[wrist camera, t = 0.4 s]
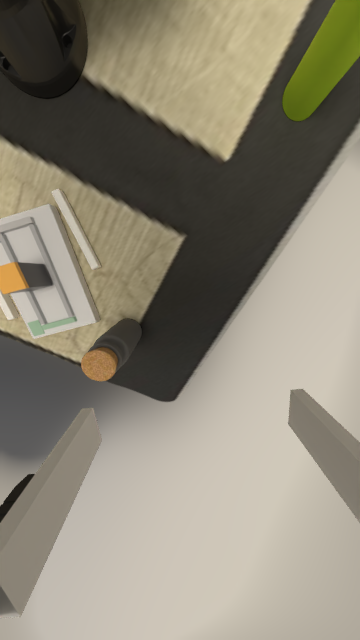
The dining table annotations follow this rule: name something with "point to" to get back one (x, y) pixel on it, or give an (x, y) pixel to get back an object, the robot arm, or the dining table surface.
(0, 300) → the light grey long bar
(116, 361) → the bottle
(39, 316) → the panel
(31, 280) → the knob
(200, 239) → the dining table surface
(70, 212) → the light grey thin bar
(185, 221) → the dining table surface
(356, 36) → the soap dispenser
